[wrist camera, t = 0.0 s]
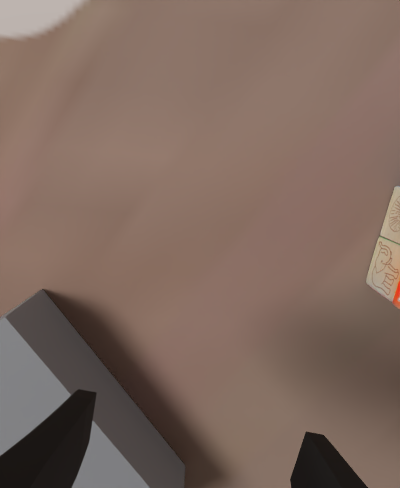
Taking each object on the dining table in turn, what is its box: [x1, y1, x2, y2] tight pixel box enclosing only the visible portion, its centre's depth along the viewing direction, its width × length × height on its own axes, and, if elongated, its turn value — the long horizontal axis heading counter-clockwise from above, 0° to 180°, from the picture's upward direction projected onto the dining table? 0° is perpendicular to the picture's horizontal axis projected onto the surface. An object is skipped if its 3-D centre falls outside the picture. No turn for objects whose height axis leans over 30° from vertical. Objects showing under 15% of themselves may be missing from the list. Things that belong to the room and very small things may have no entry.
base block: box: [0, 289, 185, 488], centre depth 21 cm, size 16×16×4 cm
